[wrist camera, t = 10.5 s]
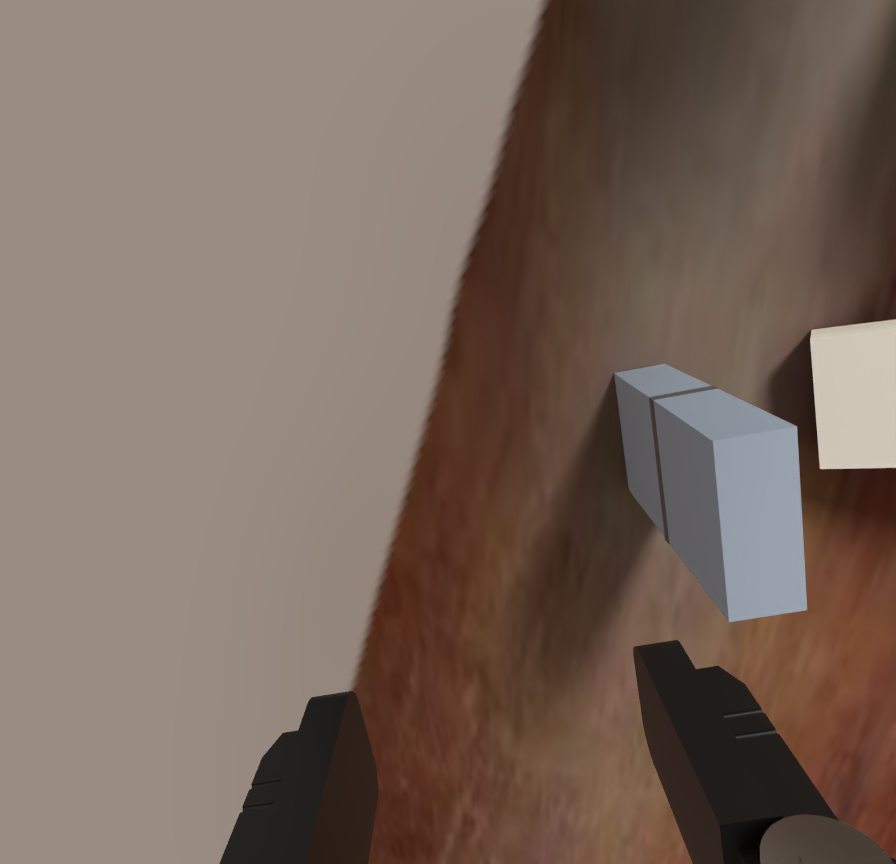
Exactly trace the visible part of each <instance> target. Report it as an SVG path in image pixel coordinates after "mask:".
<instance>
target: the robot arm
mask: <svg viewBox="0 0 896 864" xmlns="http://www.w3.org/2000/svg"><path fill="white" fill-rule="evenodd" d="M633 653H634V663H635V670H636V677H637V684H638V691H639V699H640V706H641V713H642V720H643V726H644V731H645V736H646V740H647V744H648V747H649V751H650V754H651V757H652V760H653V763H654V766H655V768H656V771H657V773H658V776H659V778H660V781H661V783H662V786H663V789H664V791H665V794H666V796H667V799H668V801H669V804H670V806H671V809H672V812H673V814H674V817H675V819H676V822H677V824H678V827H679V829H680V832H681V834H682V837H683V840H684V842H685V845H686V847H687V850H688V852H689V855H690V857H691V860H692V862H693V864H896V860H895V859H893V858H890V857H889V856H888V855H887V854H886V853H885V851H884V850H883V849H882V848H881V847H880V846H879V845H878V844H877V843H876V842H874V841H873V840H872V839H871V838H869V837H868V836H867V835H865V834H864V833H862V832H861V831H859V830H857V829H855V828H854V827H852V826H850V825H848V824H845V823H843V822H841V821H839V820H838V819H837V817H836V816H835V815H834V813H833V812H832V810H831V809H830V808H829V806H828V805H827V803H826V802H825V800H824V799H823V797H822V796H821V794H820V793H819V792H818V790H817V789H816V787H815V786H814V784H813V783H812V781H811V780H810V778H809V777H808V775H807V774H806V773H805V771H804V770H803V768H802V767H801V765H800V764H799V762H798V761H797V759H796V758H795V757H794V755H793V754H792V752H791V751H790V749H789V748H788V746H787V745H786V743H785V742H784V741H783V739H782V738H781V736H780V735H779V734H777V733H776V730H775V727H774V726H773V724H772V723H771V722H770V720H769V719H768V717H767V716H766V714H765V713H763V712H762V709H761V707H760V706H759V704H758V703H757V701H756V700H755V698H754V697H753V695H752V694H751V692H750V691H749V690H748V688H747V687H746V685H745V684H744V683H742V682H741V681H739V680H738V679H737V678H735V677H734V676H732V675H731V674H729V673H728V672H726V671H725V670H723V669H722V668H720V667H719V666H714V667H708V668H701V669H695V667H694V665H693V664H692V662H691V660H690V659H689V657H688V655H687V654H686V652H685V650H684V648H683V647H682V645H681V644H680V642H679V641H678V640H673V641H667V642H661V643H655V644H648V645H642V646H636V647H634V649H633ZM377 797H378V783H377V772H376V765H375V761H374V757H373V753H372V749H371V746H370V742H369V738H368V735H367V731H366V727H365V724H364V720H363V716H362V712H361V709H360V705H359V701H358V698H357V696H356V694H355V693H354V692H353V691H349V692H343V693H337V694H330V695H324V696H318V697H312V698H311V699H310V700H309V702H308V704H307V707H306V710H305V713H304V716H303V718H302V721H301V724H300V727H299V730H298V731H293V732H286V733H283V734H282V735H281V736H280V737H279V738H278V740H277V741H276V742H275V743H274V744H273V745H272V747H271V748H270V749H269V750H268V752H267V753H266V754H265V755H264V756H263V757H262V759H261V762H260V765H259V767H258V770H257V772H256V774H255V777H254V779H253V782H252V789H251V790H249V792H248V794H247V797H246V799H245V802H244V804H243V812H242V813H240V814H239V817H238V819H237V822H236V824H235V827H234V829H233V832H232V834H231V836H230V839H229V841H228V844H227V846H226V849H225V851H224V854H223V856H222V859H221V862H220V864H368V859H369V852H370V845H371V839H372V832H373V826H374V819H375V813H376V806H377Z"/></svg>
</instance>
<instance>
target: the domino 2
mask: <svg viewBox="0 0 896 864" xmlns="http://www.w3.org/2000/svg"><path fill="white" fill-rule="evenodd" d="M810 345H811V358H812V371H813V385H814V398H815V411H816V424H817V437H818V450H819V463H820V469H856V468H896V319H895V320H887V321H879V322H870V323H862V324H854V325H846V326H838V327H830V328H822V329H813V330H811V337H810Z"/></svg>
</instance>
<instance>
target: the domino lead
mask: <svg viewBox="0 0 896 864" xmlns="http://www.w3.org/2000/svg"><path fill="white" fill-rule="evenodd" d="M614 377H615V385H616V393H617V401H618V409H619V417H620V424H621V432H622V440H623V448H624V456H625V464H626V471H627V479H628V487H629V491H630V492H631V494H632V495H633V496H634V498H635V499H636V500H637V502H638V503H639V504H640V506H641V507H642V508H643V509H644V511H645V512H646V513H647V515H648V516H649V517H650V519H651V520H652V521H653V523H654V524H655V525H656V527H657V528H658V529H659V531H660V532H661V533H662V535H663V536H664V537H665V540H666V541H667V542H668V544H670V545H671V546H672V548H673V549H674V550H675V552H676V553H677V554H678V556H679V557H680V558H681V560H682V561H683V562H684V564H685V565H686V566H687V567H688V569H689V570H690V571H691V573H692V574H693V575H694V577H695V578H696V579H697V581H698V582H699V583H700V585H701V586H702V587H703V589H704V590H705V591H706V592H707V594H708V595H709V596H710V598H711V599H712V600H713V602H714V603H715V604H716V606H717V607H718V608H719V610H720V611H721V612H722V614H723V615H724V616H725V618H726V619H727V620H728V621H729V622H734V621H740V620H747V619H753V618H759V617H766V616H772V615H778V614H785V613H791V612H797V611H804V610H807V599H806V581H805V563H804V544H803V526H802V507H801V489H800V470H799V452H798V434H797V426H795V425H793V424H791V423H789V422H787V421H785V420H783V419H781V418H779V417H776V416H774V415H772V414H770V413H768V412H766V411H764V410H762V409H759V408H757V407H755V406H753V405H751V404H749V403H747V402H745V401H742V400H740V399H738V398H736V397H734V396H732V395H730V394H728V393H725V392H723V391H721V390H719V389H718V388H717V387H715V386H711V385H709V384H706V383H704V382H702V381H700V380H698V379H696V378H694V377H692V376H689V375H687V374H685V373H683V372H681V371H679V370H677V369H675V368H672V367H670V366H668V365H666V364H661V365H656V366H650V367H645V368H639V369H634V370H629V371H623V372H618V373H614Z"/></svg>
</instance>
